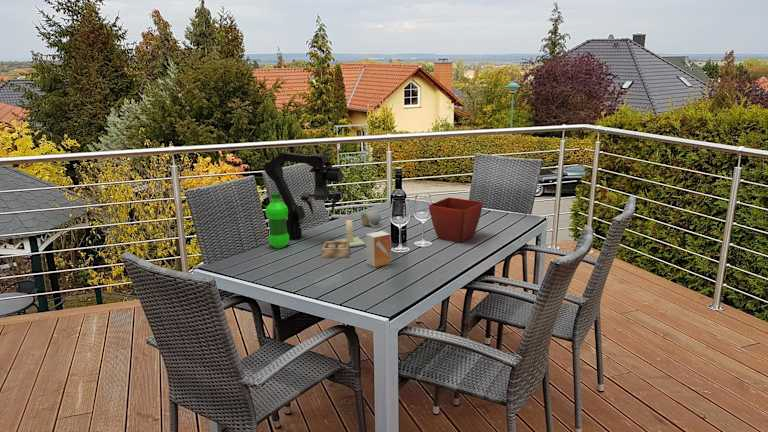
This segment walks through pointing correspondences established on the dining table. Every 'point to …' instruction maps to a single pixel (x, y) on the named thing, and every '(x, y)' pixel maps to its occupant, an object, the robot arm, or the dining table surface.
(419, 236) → the dining table surface
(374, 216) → the ceramic mug
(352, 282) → the dining table surface
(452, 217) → the plant pot
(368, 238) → the small box
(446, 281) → the dining table surface
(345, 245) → the oak box
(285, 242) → the plastic bottle
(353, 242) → the beige peg on base
